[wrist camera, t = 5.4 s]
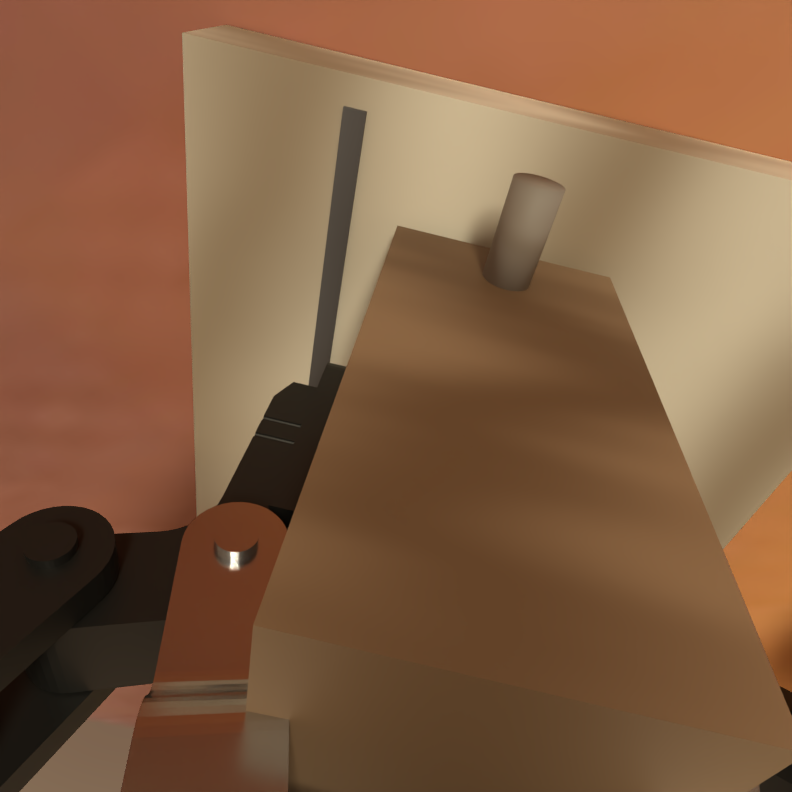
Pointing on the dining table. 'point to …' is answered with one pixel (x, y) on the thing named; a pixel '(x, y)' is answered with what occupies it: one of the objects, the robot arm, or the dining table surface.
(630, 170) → the board
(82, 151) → the dining table surface
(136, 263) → the dining table surface
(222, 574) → the robot arm
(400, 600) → the block
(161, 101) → the dining table surface
